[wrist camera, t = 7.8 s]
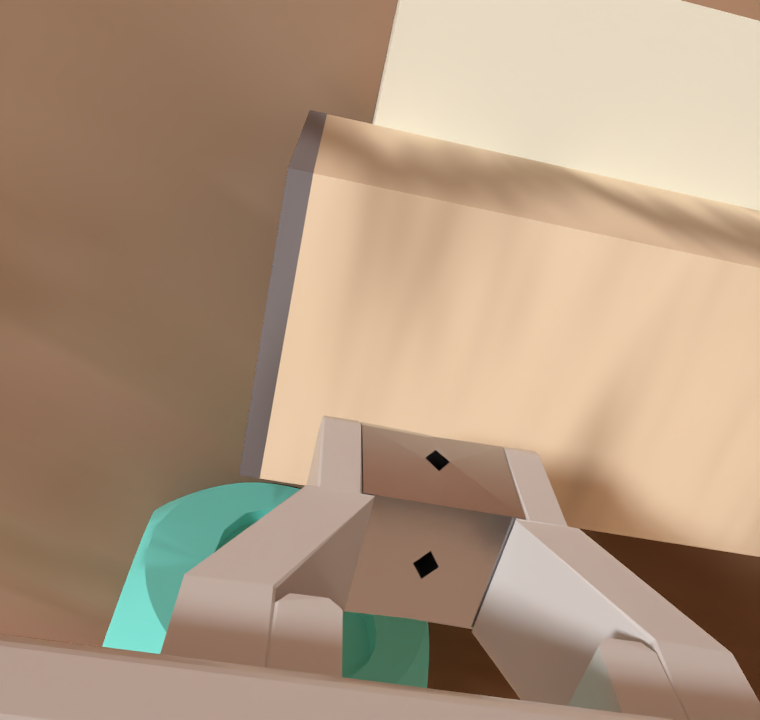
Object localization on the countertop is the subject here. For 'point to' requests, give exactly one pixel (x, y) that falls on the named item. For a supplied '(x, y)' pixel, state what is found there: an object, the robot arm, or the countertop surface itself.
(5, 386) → the countertop surface
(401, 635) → the decorative dice
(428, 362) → the birch block
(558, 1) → the mat
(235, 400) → the countertop surface
